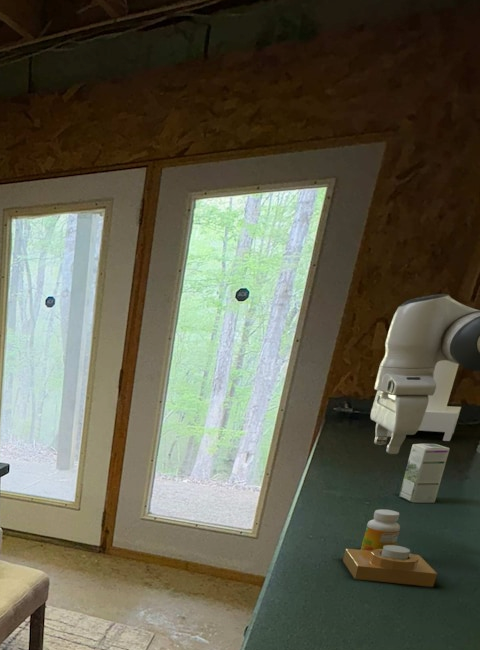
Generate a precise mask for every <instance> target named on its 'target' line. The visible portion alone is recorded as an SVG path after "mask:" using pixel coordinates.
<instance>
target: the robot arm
mask: <svg viewBox="0 0 480 650" xmlns="http://www.w3.org/2000/svg"><path fill="white" fill-rule="evenodd" d="M384 347H385V348H384V349H385V351H384V352H385V353H384V356H383V358H382V360H381V362H380V364H379V368H378V371H377V375H376V379H375V383H374V387H373V388H374V391H375V390H376V393H375V397H374V400H373V403H372V407H371V409H370V420H371V421H373V422H375V423H376V424H375V437H374V441H373V443H374V444H375V445H377V446H385V445H386V444H387V446H386V450H385V451H386V453H387V454H389V455H398V454H399V453H400V449H401V446H402V444H403V443H404V441H405V440H406V437H407V436H413V435H416V433H417V432H418V431H419V430H418V429H419V428H420V425H421V423H422V420H423V417H424V415H425V412H426V409H427V406H428V402H429V397H428V395H433V394H434V392H435V389H436V383H435V381H434V379H433V377H434V370H435V366H436V364H437V362H439V361H441V360H447V361H449V362H452V363H455V364H459V365H458V366H462V368H465V369H467V370H470V371H473V372H474V371H475V372H480V309H476V308H473V307H471V306H468V305H465V304H463V303H461V302H459V301H457V300H455V299H454V298H453V297H451V296H450V294H446V293H438V294H432V295H431V294H430V295H424V296H419V297H415V298H411V299H407V300H406V301H404V302H403V303H401V304H400V305H399V306H398V307H397V309H396V310H395V313H394V314H393V317H392V319H391V322H390V325H389V328H388V332H387V335H386V338H385V342H384ZM388 430H389V431H391V432H392V433H391V437H390V440H389V443H387V440H388V436H387V432H388Z"/></svg>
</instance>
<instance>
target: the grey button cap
mask: <svg viewBox="0 0 480 650" xmlns="http://www.w3.org/2000/svg"><path fill="white" fill-rule="evenodd" d="M409 553H410V554H411V550H410V549H409V548H407V547H405V546H400V545H386V546H383V549H382V553H381V555H382V556H384V557H387V558H392V559H399V560H406V559H408V557H409Z"/></svg>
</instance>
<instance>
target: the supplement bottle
mask: <svg viewBox="0 0 480 650" xmlns="http://www.w3.org/2000/svg"><path fill="white" fill-rule="evenodd" d="M399 517H400V512H398V511H397V510H396V511H395V510H393V509H383V508H382V509H376V510H374V513H373V519H371V520H369V521H368V522H367V524H366V527H365V532H364V536H363V539H362V543H361V547H360V550H368V551H373V550H375V549H383V546H386V545H395V546H397V545H396V544H397V541H398V537H399V535H400V534H399V533H400V530H401V525H400V524H399V523H398V521H399Z"/></svg>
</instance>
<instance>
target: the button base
mask: <svg viewBox="0 0 480 650" xmlns="http://www.w3.org/2000/svg"><path fill="white" fill-rule="evenodd" d="M381 553H382V549H375V550H373V551H368V550H361V549H354V548H345V550H344V554H343V558H342V562H343V564H344V565H345V567H346V568H347V569H348V571H349V572H350V574H351V575H352V577H353V579H355V580H361V581H362V580H363V581H372V582H382V583H391V584H401V585H409V586H410V585H411V586H420V587H428V588H429V587H431V588H433V587H434V586H435V583H436V579H437V576H438V572H436V570H434V569H433V568H432V567H431V565H429V564H428V562H427V561H426V560H424V558H423V557H422V556H421V555H420V554H413V553H411V552H410V553H409V557H408V559H406V560H399V559H392V558H387V557H384V556H382V555H381Z"/></svg>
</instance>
